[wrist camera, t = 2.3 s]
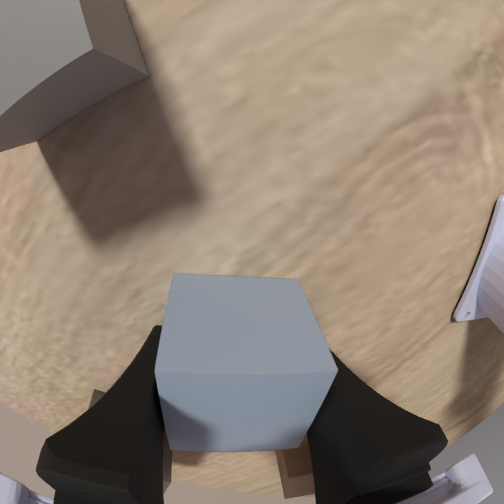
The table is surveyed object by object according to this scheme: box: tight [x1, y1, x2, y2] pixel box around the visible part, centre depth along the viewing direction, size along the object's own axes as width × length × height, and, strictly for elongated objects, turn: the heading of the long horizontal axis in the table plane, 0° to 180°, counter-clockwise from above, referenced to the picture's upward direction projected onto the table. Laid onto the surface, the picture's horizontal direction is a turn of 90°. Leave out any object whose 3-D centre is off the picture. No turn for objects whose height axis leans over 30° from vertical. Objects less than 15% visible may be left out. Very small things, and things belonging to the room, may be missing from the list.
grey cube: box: [0, 0, 150, 152], centre depth 5 cm, size 5×5×5 cm
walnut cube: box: [275, 433, 315, 499], centre depth 16 cm, size 5×5×5 cm
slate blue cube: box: [155, 273, 338, 452], centre depth 11 cm, size 5×5×5 cm
